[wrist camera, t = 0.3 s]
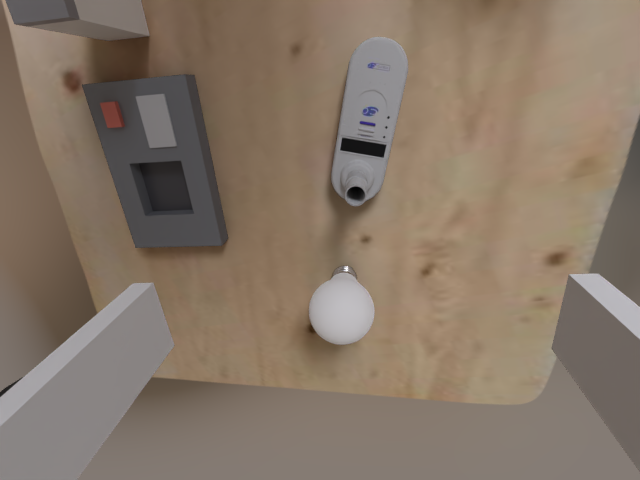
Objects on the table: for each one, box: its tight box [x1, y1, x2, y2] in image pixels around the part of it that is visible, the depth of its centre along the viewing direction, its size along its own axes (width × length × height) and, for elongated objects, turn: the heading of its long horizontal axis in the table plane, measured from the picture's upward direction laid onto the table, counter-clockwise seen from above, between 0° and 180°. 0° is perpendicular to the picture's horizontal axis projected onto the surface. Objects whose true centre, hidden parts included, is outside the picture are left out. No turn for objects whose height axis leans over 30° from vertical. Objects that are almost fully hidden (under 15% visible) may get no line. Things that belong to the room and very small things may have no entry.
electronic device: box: [331, 37, 408, 206], centre depth 30 cm, size 5×10×15 cm
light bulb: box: [309, 266, 374, 345], centre depth 36 cm, size 7×7×11 cm
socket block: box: [82, 74, 228, 248], centre depth 37 cm, size 18×11×2 cm, turn 4°
